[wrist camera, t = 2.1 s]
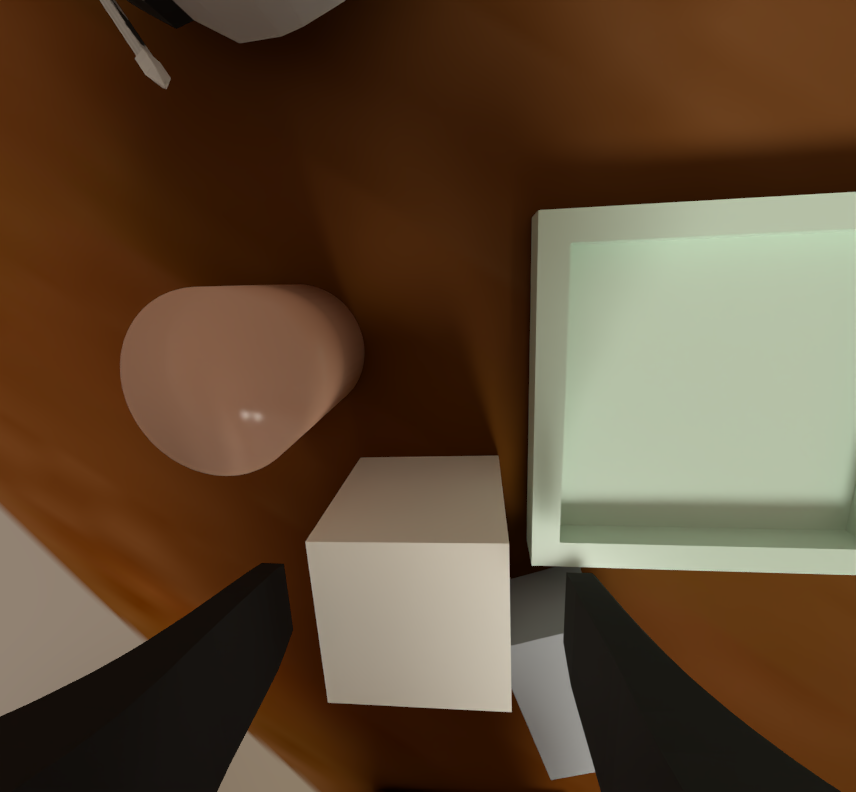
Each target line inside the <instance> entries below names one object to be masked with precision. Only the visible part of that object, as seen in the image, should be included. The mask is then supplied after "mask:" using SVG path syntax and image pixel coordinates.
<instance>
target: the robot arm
mask: <svg viewBox="0 0 856 792" xmlns="http://www.w3.org/2000/svg"><path fill="white" fill-rule="evenodd" d="M292 631H293V625H292V618H291V611H290V604H289V597H288V590H287V583H286V576H285V569H284V564H271V563H261V564H260V565H258V566H256V567H255V568H253V569H252V570H250V571H249V572H247V573H246V574H244V575H243V576H242V577H240V578H239V579H237V580H236V581H234V582H233V583H232V584H230V585H229V586H227V587H226V588H225V589H223V590H222V591H220V592H219V593H218V594H216V595H215V596H213V597H212V598H210V599H209V600H208V601H206V602H205V603H203V604H202V605H200V606H199V607H198V608H196V609H195V610H193V611H192V612H190V613H189V614H187V615H186V616H184V617H183V618H181V619H180V620H178V621H177V622H175V623H174V624H172V625H171V626H169V627H168V628H166V629H164V630H163V631H161V632H160V633H158V634H157V635H155V636H154V637H152V638H151V639H149V640H148V641H146V642H144V643H143V644H141V645H139V646H138V647H136V648H135V649H133V650H131V651H129V652H128V653H126V654H124V655H123V656H121V657H119V658H118V659H116V660H114V661H112V662H110V663H108V664H107V665H105V666H103V667H101V668H99V669H98V670H96V671H94V672H92V673H90V674H88V675H86V676H84V677H82V678H80V679H79V680H76V681H74V682H72V683H70V684H68V685H67V686H64V687H62V688H60V689H58V690H56V691H54V692H52V693H50V694H48V695H46V696H44V697H42V698H40V699H38V700H36V701H34V702H32V703H29V704H27V705H26V706H23V707H21V708H19V709H16V710H14V711H12V712H10V713H7V714H5V715H3V716H1V717H0V792H217V791H218V788H219V786H220V784H221V782H222V780H223V778H224V776H225V774H226V771H227V769H228V767H229V765H230V763H231V761H232V759H233V757H234V755H235V753H236V752H237V749H238V748H239V746H240V744H241V742H242V740H243V738H244V736H245V734H246V732H247V730H248V728H249V726H250V724H251V722H252V720H253V718H254V717H255V715H256V713H257V711H258V709H259V707H260V705H261V703H262V701H263V699H264V697H265V695H266V693H267V691H268V689H269V687H270V685H271V683H272V681H273V679H274V677H275V675H276V673H277V671H278V669H279V666H280V664H281V661H282V658H283V656H284V653H285V651H286V648H287V645H288V642H289V639H290V637H291V634H292ZM563 644H564V649H565V655H566V661H567V667H568V673H569V678H570V684H571V688H572V692H573V695H574V699H575V702H576V706H577V710H578V713H579V717H580V720H581V724H582V727H583V731H584V734H585V738H586V741H587V744H588V748H589V751H590V755H591V758H592V762H593V765H594V769H595V772H596V776H597V779H598V783H599V786H600V790H601V792H841V791H839V790H838V789H836V788H835V787H833V786H831V785H830V784H828V783H827V782H825V781H824V780H822V779H821V778H819V777H818V776H817V775H815V774H814V773H812V772H811V771H809V770H808V769H807V768H805V767H804V766H802V765H801V764H799V763H798V762H796V761H795V760H794V759H792V758H791V757H789V756H788V755H787V754H785V753H784V752H783V751H781V750H780V749H779V748H777V747H776V746H775V745H773V744H772V743H771V742H769V741H768V740H767V739H765V738H764V737H763V736H761V735H760V734H758V733H757V732H756V731H754V730H753V729H752V728H751V727H749V726H748V725H747V724H745V723H744V722H743V721H742V720H740V719H739V718H738V717H737V716H735V715H734V714H733V713H732V712H730V711H729V710H728V709H727V708H726V707H724V706H723V705H722V704H721V703H720V702H718V701H717V700H716V699H715V698H714V697H713V696H711V695H710V694H709V693H708V692H707V691H705V690H704V689H703V688H702V687H701V686H700V685H698V684H697V683H696V682H695V681H694V680H693V679H692V678H691V677H689V676H688V675H687V674H686V673H685V672H684V671H683V670H682V669H681V668H680V667H679V666H678V665H677V664H676V663H675V662H674V661H673V660H672V659H671V658H670V657H668V656H667V655H666V654H665V653H664V652H663V651H662V649H661V648H660V647H659V646H658V645H657V644H656V643H655V642H654V641H653V640H652V639H651V638H650V637H649V636H648V635H647V634H646V633H645V632H644V631H643V630H642V629H641V628H640V627H639V625H638V624H637V623H636V622H635V621H634V620H633V619H632V618H631V617H630V616H629V615H628V613H627V612H626V611H625V610H624V609H623V608H622V607H621V606H620V604H619V603H618V602H617V601H616V600H615V599H614V598H613V596H612V595H611V594H610V593H609V592H608V591H607V589H606V588H605V587H604V586H603V585H602V583H601V582H600V581H599V580H598V579H597V578H596V577H595V576H594V575H593V574H592V573H569V572H566V590H565V613H564V636H563Z"/></svg>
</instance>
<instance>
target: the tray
mask: <svg viewBox="0 0 856 792" xmlns="http://www.w3.org/2000/svg"><path fill="white" fill-rule="evenodd" d="M526 540H527V545H528V550H529V555H530V561H531V566H562V567H596V568H631V569H665V570H699V571H734V572H768V573H803V574H837V575H856V192H843V193H826V194H808V195H791V196H774V197H757V198H739V199H722V200H705V201H687V202H670V203H653V204H635V205H618V206H601V207H583V208H566V209H549V210H538V211H537V212H536V213H535V215H534V216H533V217H532V233H531V294H530V356H529V417H528V478H527V539H526Z"/></svg>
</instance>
